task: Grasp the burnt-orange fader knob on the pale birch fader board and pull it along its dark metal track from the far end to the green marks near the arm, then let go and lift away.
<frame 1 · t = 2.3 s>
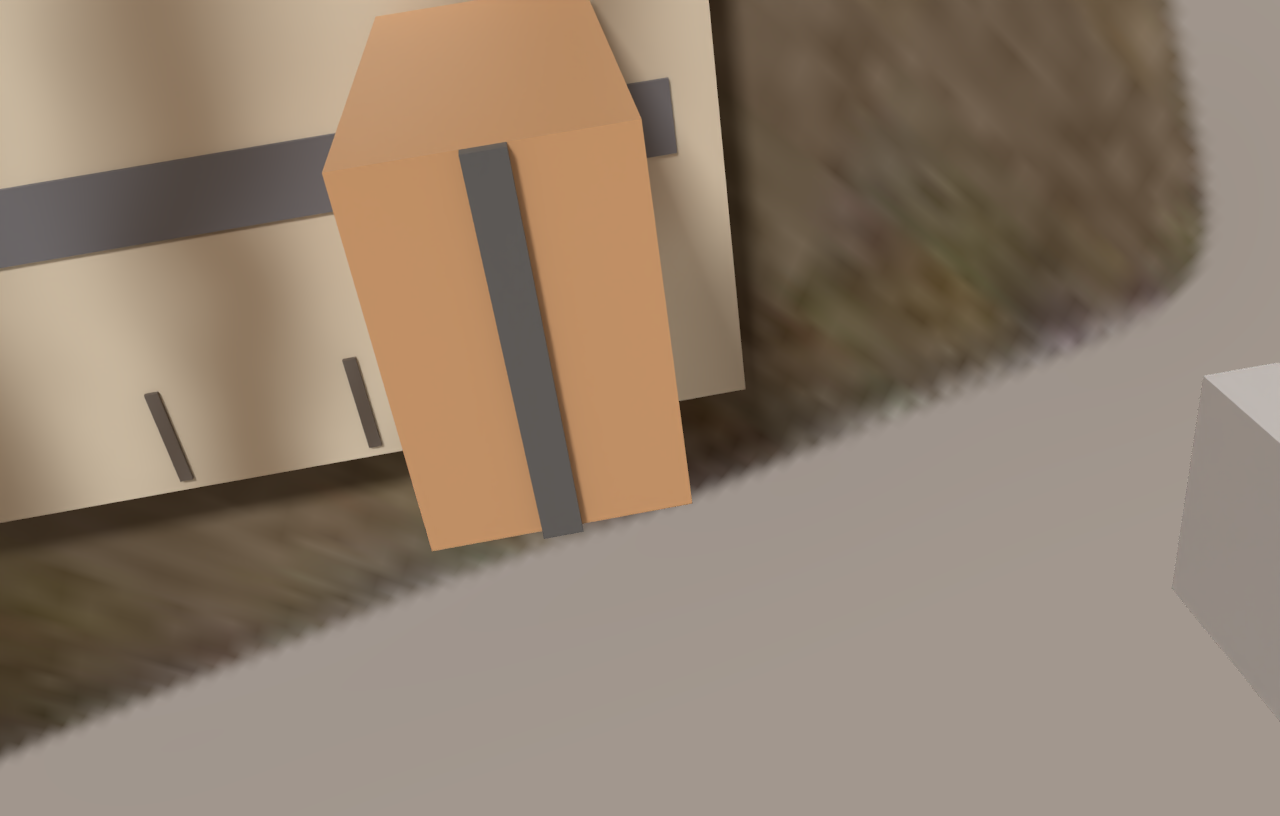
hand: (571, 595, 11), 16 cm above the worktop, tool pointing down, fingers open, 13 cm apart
fader board: (194, 167, 25), on the worktop
fader: (516, 234, 19), point 7 cm above the worktop, slide at 7.0 cm
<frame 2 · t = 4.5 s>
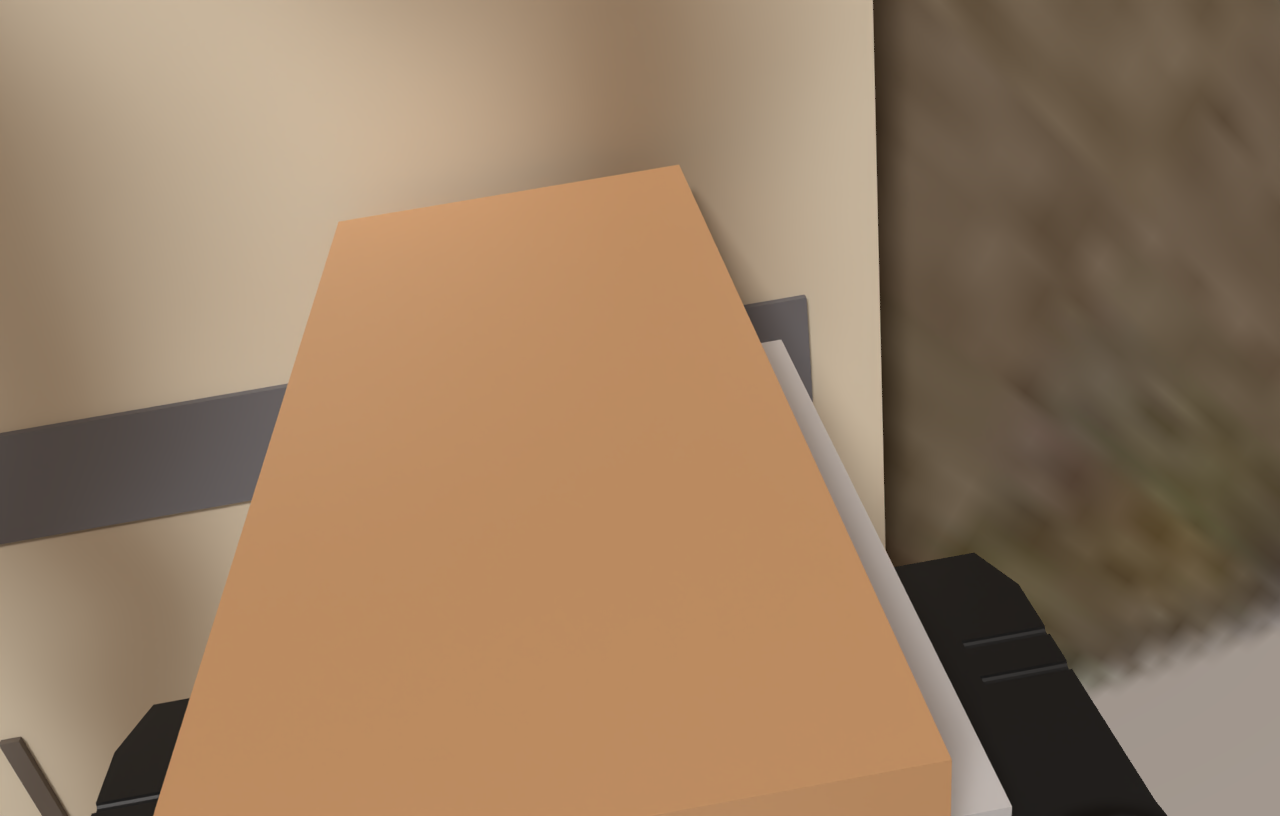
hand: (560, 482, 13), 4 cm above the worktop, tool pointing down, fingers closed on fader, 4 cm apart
fader board: (74, 407, 17), on the worktop
fader: (578, 656, 11), point 7 cm above the worktop, slide at 7.0 cm, touching gripper
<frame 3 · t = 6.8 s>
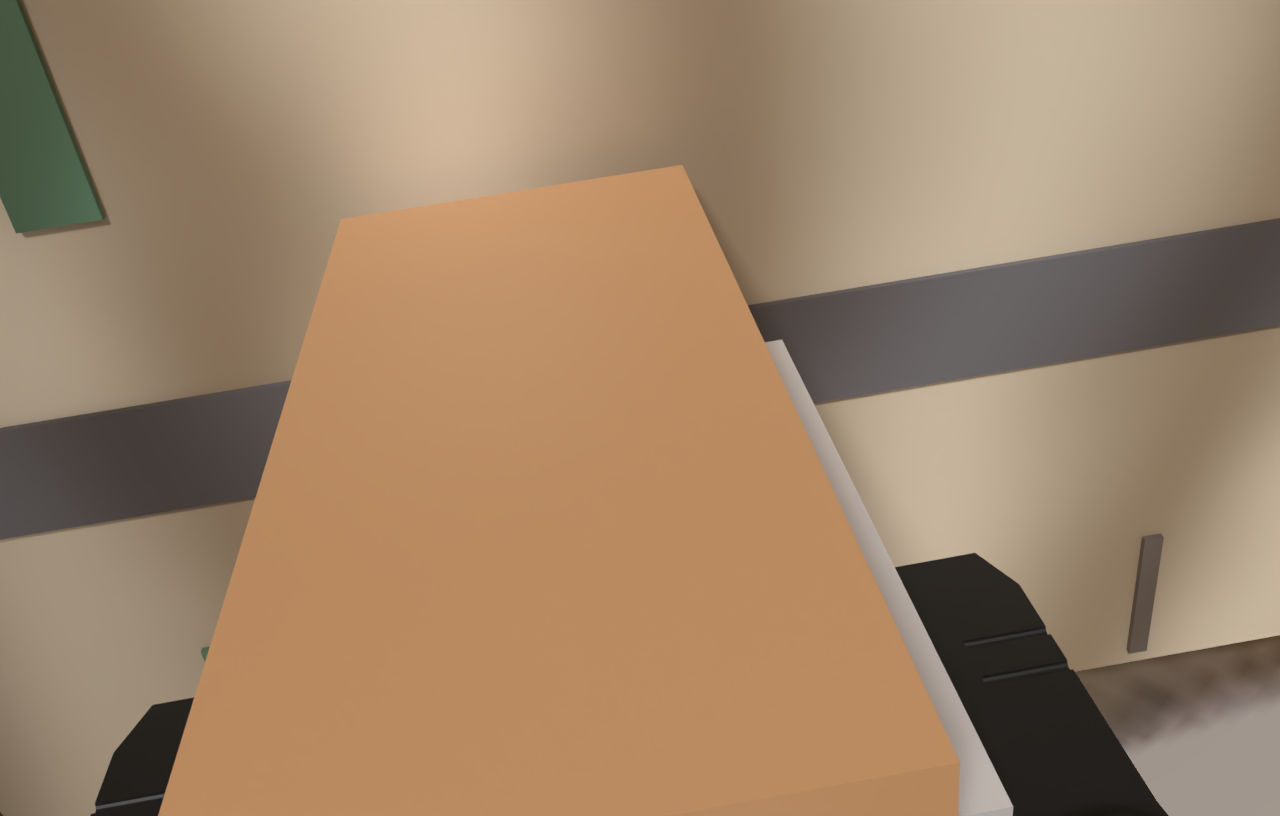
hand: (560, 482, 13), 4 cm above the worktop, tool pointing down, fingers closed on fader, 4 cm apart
fader board: (662, 306, 17), on the worktop
fader: (579, 656, 11), point 7 cm above the worktop, slide at -1.8 cm, touching gripper
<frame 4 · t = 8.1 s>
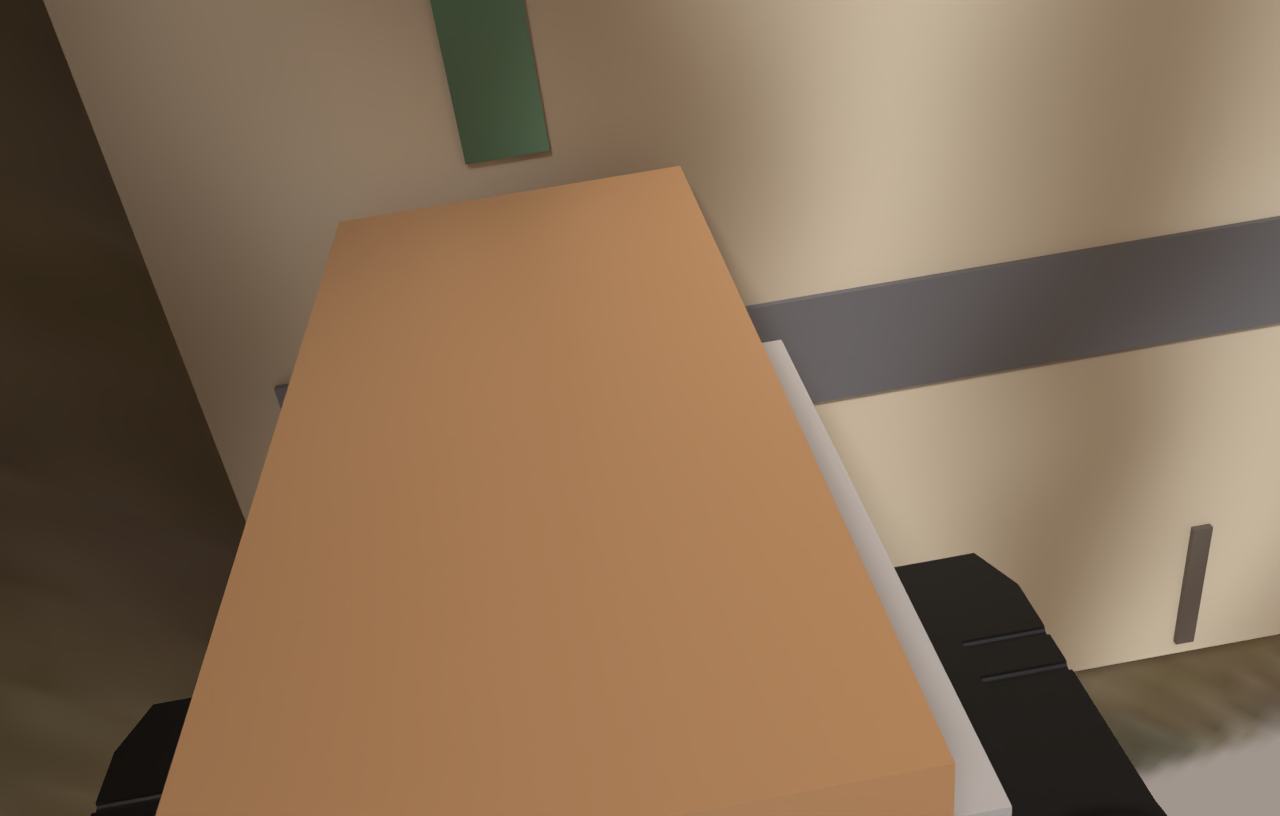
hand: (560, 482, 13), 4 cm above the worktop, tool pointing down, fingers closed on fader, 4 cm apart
fader board: (1005, 249, 17), on the worktop
fader: (578, 658, 11), point 7 cm above the worktop, slide at -7.0 cm, touching gripper
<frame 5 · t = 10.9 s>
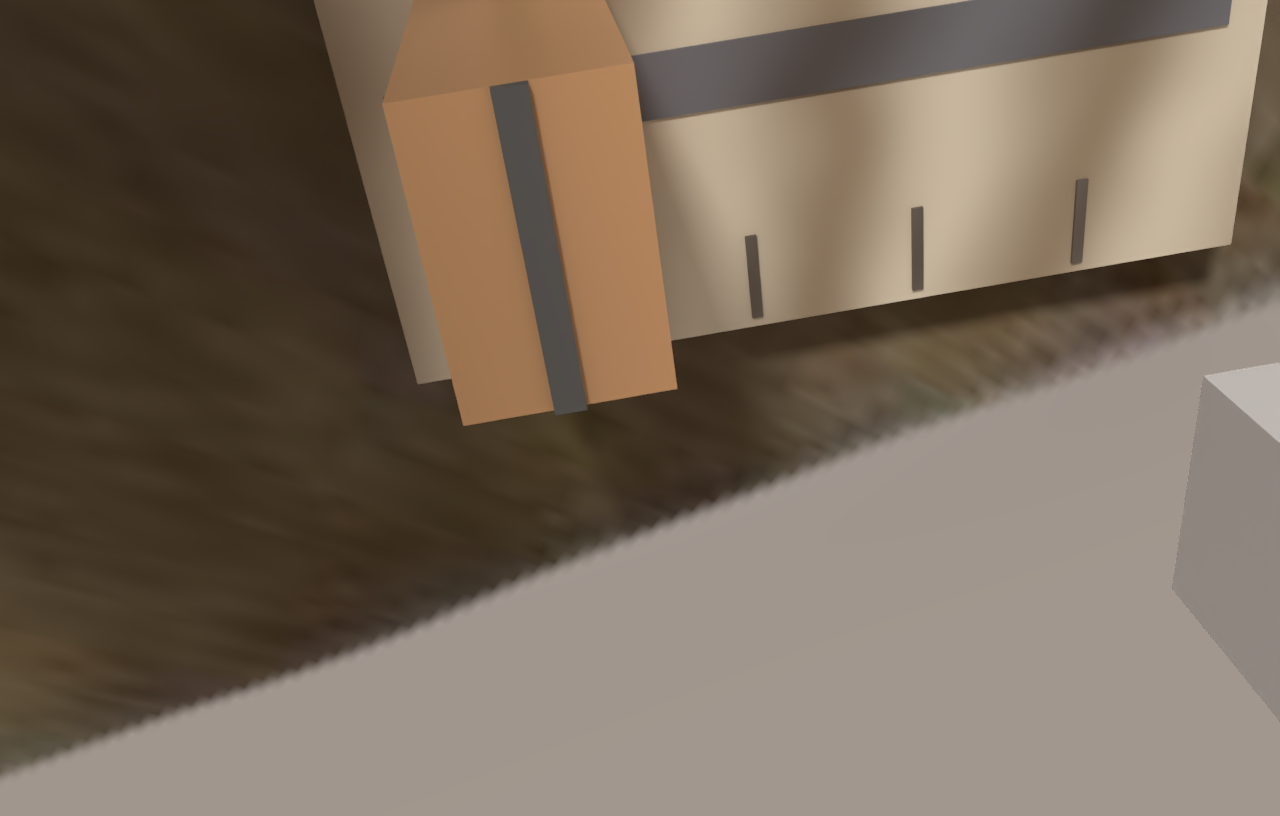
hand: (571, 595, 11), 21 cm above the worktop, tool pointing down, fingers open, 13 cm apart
fader board: (797, 40, 29), on the worktop
fader: (533, 174, 23), point 7 cm above the worktop, slide at -7.2 cm
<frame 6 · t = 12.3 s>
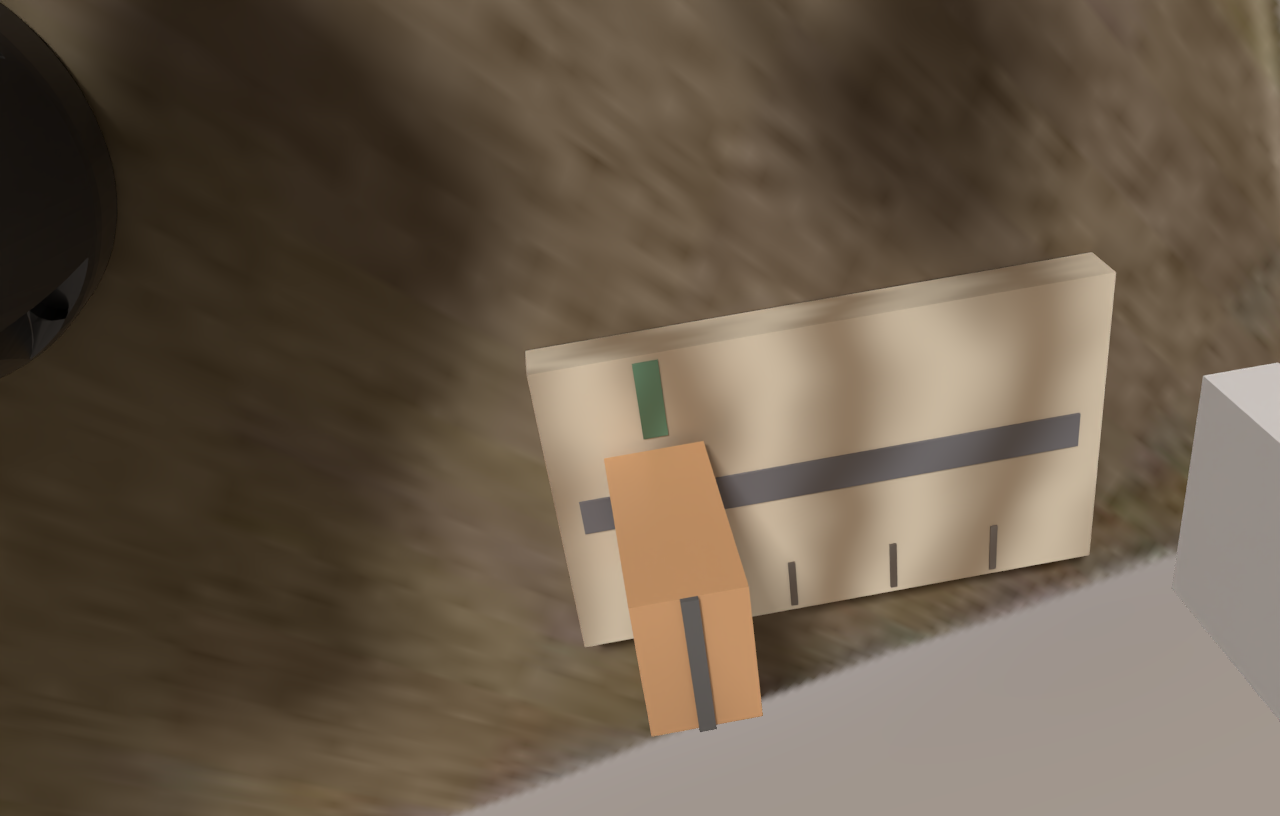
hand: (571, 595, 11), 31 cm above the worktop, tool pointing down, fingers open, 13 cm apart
fader board: (819, 447, 48), on the worktop
fader: (679, 582, 42), point 7 cm above the worktop, slide at -7.2 cm
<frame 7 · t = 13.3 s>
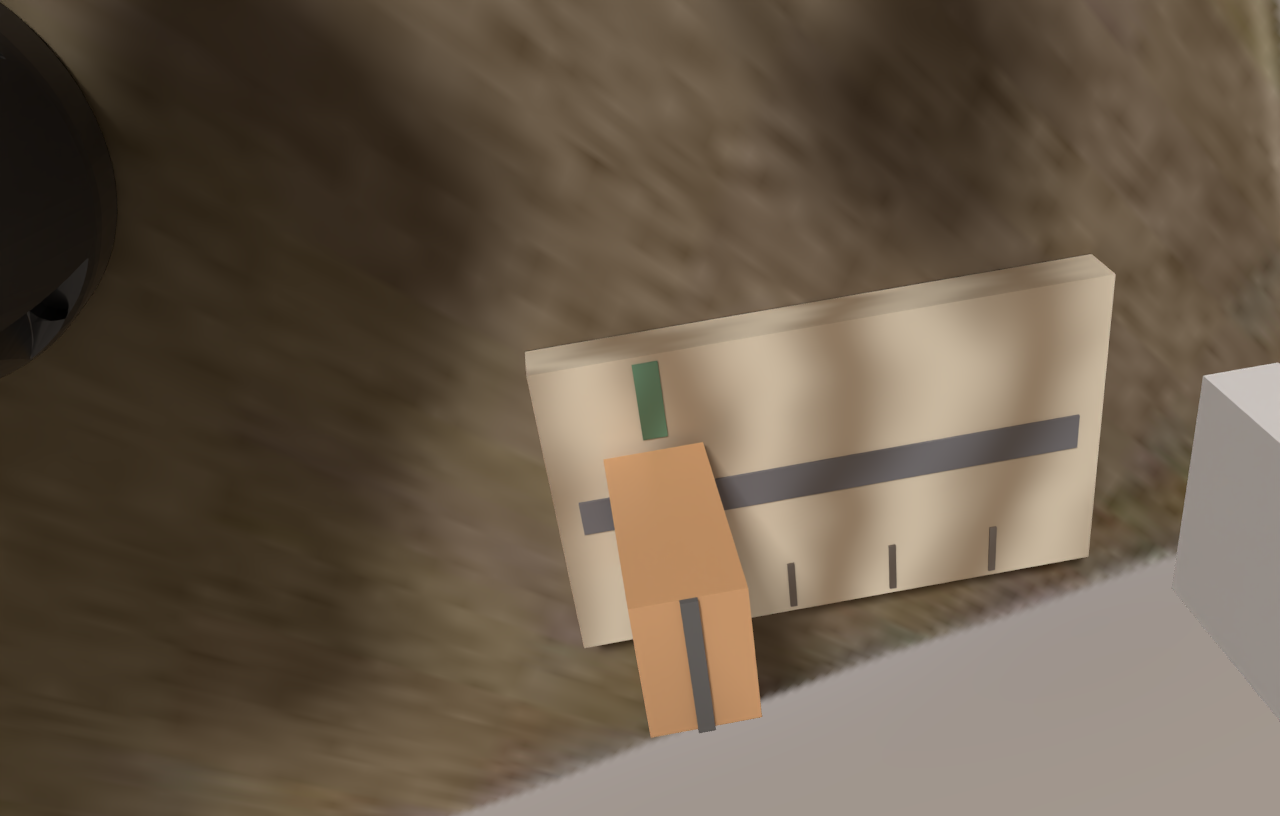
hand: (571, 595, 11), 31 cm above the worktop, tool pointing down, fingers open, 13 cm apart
fader board: (819, 448, 48), on the worktop
fader: (678, 583, 42), point 7 cm above the worktop, slide at -7.2 cm
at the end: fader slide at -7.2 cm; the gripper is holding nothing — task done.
